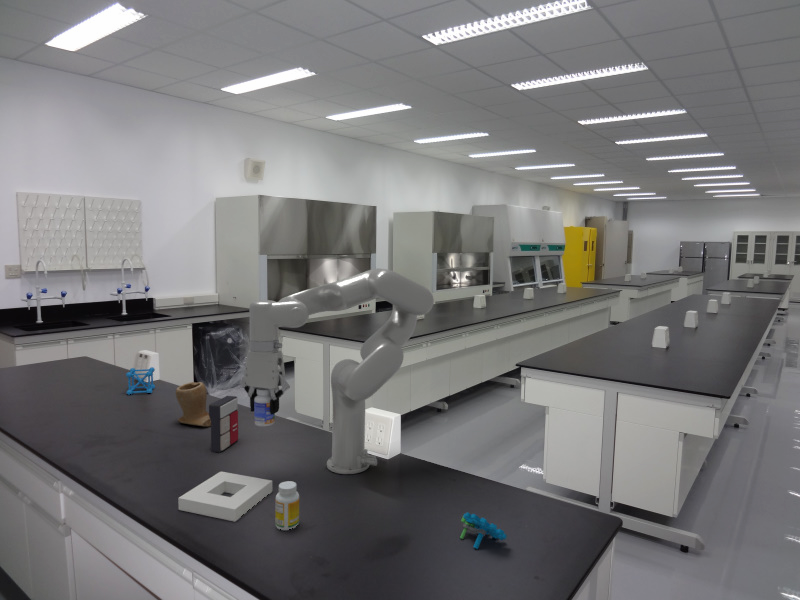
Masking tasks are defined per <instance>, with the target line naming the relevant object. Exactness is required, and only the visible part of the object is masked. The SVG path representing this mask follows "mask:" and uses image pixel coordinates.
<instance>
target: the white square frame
mask: <svg viewBox="0 0 800 600" xmlns="http://www.w3.org/2000/svg"><path fill="white" fill-rule="evenodd" d="M272 492H273V480H270V479H265V478H259V477H255V476H248V475H242V474H239V473H231V472H225V471H219V472H217V473H216V474H214V475H213V476H211V477H209V478H208V479H206V480H205V481H202V483H200V484H198V485H197V486H195V487H193V488H192V489H190V490H188V491H187V492H185V493H184V494H183V495H181V496H179V497H178V499H177V500H178V503H177V504H178V510H179V511H184V512H187V513H188V512H189V513H192V514H198V515H201V516H207V517H212V518H217V519H221V520H225V521H230V522H234V523H235V522H237V521H238V520H239V519H240V518H242V517H243V516H244V515H245V514H247V513H248V512H249V511H250V510H252V509H253V508H254V507H255V506H256V505H258V504H259V503H260V502H262V501H263V500H264V499H265V498H267V495H268V494H269V495H270V494H271V493H272ZM224 493H228V494H231V496H225V495H223V494H224ZM269 495H268V496H269ZM264 497H265V498H264ZM263 498H264V499H263ZM262 499H263V500H262ZM259 501H260V502H259ZM258 502H259V503H258ZM257 503H258V504H257ZM254 505H255V506H254ZM253 506H254V507H253ZM252 507H253V508H252ZM249 509H250V510H249ZM248 510H249V511H248ZM247 511H248V512H247ZM243 514H244V515H243ZM242 515H243V516H242ZM241 516H242V517H241Z"/></svg>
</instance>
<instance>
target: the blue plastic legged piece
mask: <svg viewBox="0 0 800 600" xmlns="http://www.w3.org/2000/svg"><path fill="white" fill-rule="evenodd" d="M460 522H461V523H462V524H463V525H462V528H463V530H462V532H461V534H460V536H459V539H461V540H463V539H464V537H465V535H466V533H467V531H470V532H472V533H475V534H478V535H477V537H476V539H475V542H474V544H473V548H474V549H476V550H478V549H479V547H480V544H481V542H482V541H483V538H484V537H485V536H486V535H487V536H488V535H489V536H490V537H492V538H494V539H495V540H496V539H498V540H500V541H503V540H505V541H506V539H507V537H508V535H507V534H506V533H505V531H504V530H502V529H501V528H497V527H498V525H496V524H495V523H492V522H491V523H489V521H488V520H487V519H486V518H484V517H481V518H480V517H479V516H478V515H477V514H475V513H470V512H469V511H468V512H467V511H466V513H464V514H463V515H462V518H461V520H460Z"/></svg>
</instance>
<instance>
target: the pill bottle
mask: <svg viewBox="0 0 800 600" xmlns="http://www.w3.org/2000/svg"><path fill="white" fill-rule="evenodd" d="M257 395H258V396H256V397H255V399H254V411H253V412H254V414H253V415H254V418H253V420H254V425H255V426H258V427H268V426H272V425H274V424H275V420H276V413H275V414H270V400H271V399H272V396H271V393H270V390H269V389H264V388H257Z"/></svg>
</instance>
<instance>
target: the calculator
mask: <svg viewBox="0 0 800 600" xmlns="http://www.w3.org/2000/svg"><path fill="white" fill-rule="evenodd" d="M208 413H209V417H210V419H211V426H210V446H211V448H210V451H211V452H212V453H221V452H223V451H224V450H226V449H227V448H228V447H230V446H231V445H233V444H235V443H236V442H237V441H238V440H239V410H238V396H234V395H226V396H224V397H222V398H219V399H218V400H216V401H214V402H211V403H210V404H209V405H208Z"/></svg>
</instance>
